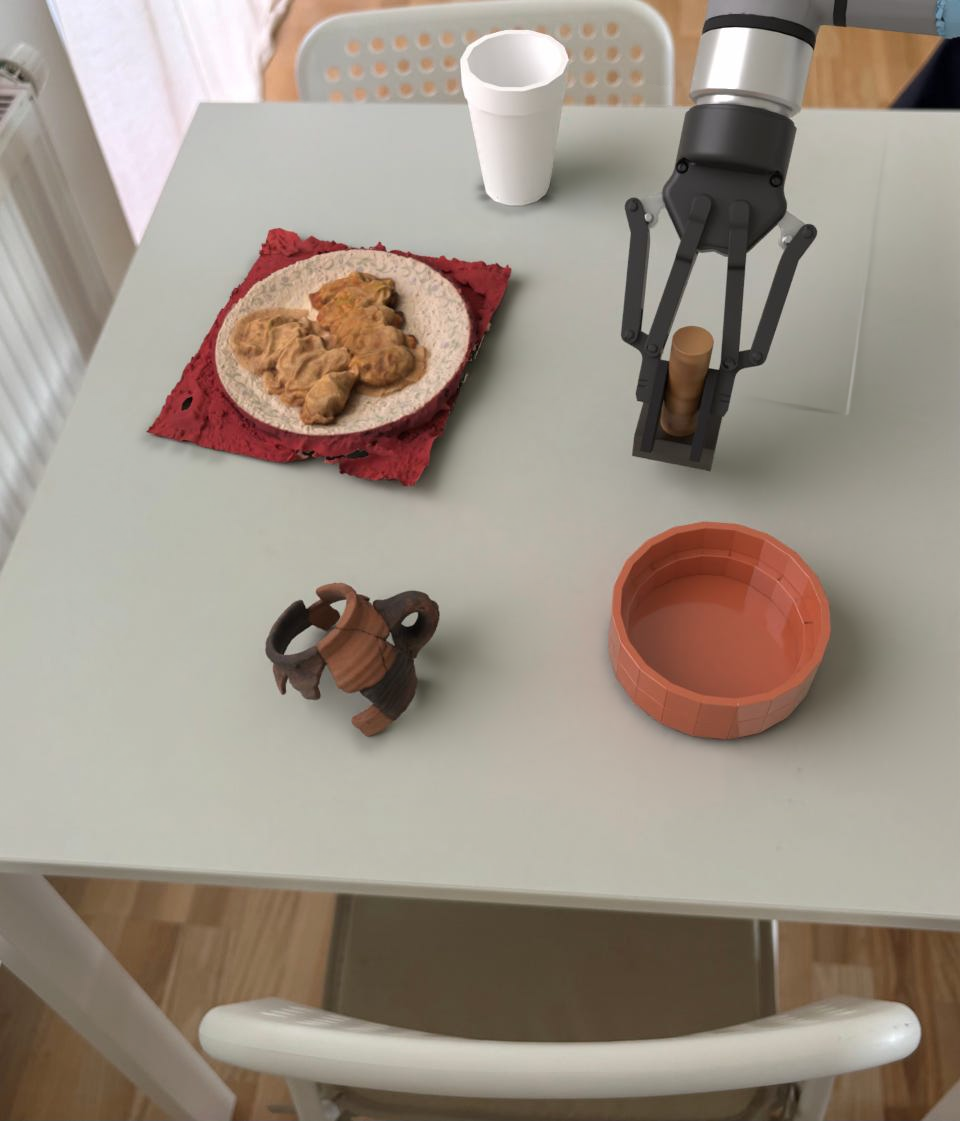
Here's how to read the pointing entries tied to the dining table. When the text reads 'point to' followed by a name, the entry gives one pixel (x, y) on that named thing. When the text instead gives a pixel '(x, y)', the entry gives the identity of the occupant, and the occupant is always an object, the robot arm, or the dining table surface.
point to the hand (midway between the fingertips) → (670, 454)
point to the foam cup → (515, 110)
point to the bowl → (717, 629)
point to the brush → (682, 403)
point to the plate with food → (336, 356)
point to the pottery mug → (356, 649)
